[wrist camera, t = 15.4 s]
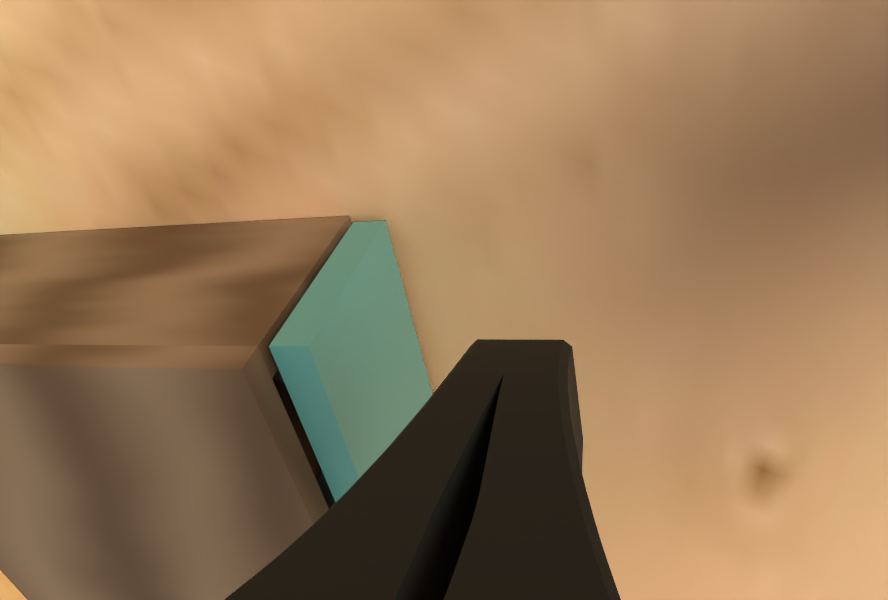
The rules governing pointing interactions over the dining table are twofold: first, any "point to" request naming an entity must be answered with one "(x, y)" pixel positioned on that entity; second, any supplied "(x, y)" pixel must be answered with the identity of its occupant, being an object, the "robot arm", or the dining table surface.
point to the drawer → (353, 358)
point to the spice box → (151, 407)
